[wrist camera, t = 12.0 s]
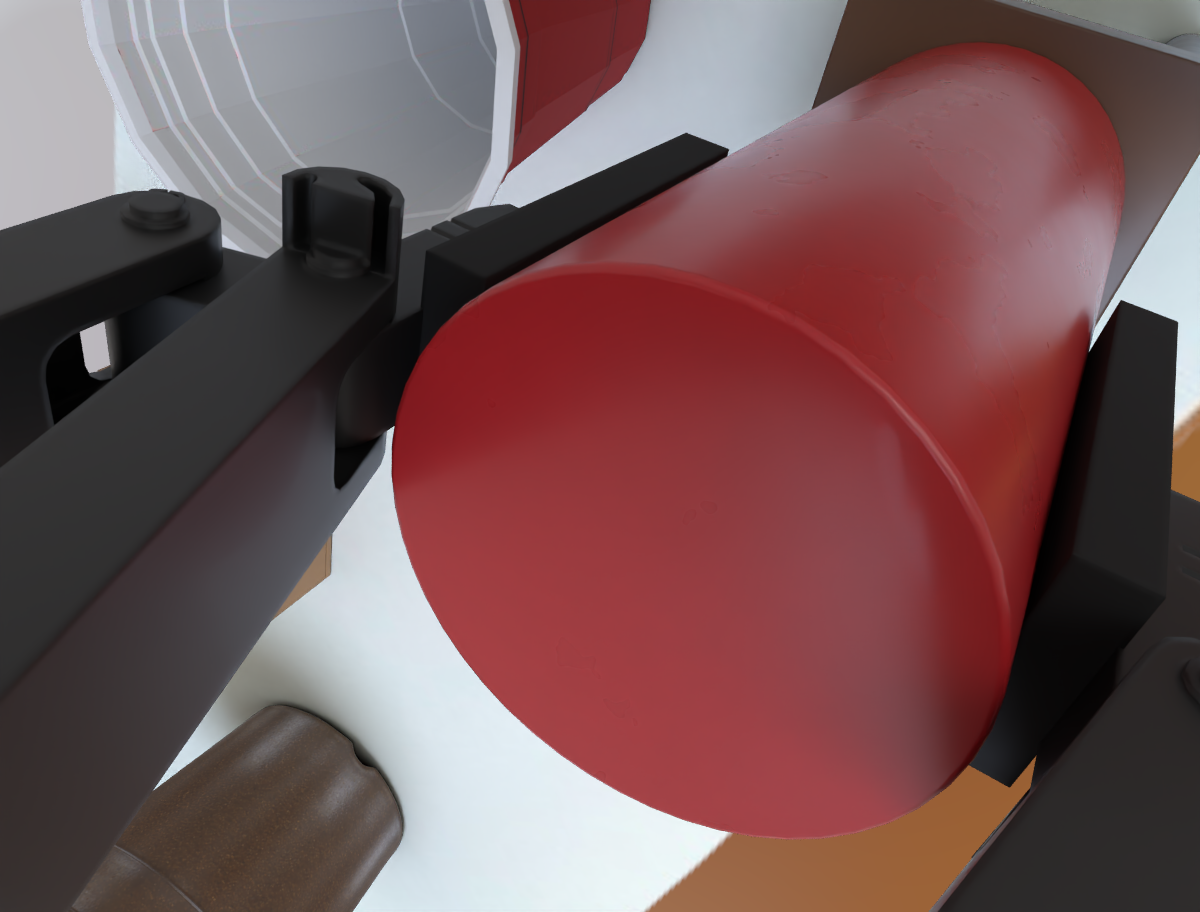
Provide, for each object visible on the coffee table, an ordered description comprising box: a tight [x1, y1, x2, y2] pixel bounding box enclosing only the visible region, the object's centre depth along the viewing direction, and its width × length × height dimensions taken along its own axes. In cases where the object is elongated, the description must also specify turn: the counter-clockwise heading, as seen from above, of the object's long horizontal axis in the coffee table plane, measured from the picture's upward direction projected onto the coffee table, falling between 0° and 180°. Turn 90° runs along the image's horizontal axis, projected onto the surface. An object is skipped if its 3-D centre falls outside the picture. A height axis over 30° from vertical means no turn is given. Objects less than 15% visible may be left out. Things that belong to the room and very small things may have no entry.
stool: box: [812, 0, 1200, 326], centre depth 21 cm, size 7×7×6 cm
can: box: [392, 42, 1125, 839], centre depth 14 cm, size 6×6×14 cm
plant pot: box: [68, 705, 402, 912], centre depth 52 cm, size 16×16×16 cm
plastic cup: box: [81, 0, 651, 259], centre depth 23 cm, size 11×11×12 cm
